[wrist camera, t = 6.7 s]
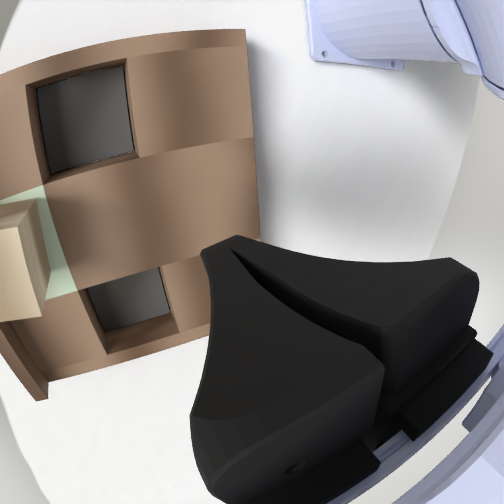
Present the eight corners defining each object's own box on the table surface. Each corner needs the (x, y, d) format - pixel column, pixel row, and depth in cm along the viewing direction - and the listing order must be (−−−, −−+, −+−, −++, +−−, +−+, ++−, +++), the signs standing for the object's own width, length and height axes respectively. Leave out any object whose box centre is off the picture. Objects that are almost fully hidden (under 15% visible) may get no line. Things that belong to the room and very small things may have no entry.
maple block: (36, 197, 12) (17, 226, 9) (51, 271, 14) (42, 316, 11) (-29, 211, 11) (-60, 242, 7) (-11, 281, 12) (-30, 325, 9)
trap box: (227, 37, 15) (258, 23, 12) (250, 296, 24) (275, 327, 21) (-53, 109, 9) (-86, 113, 6) (38, 360, 18) (36, 401, 15)
